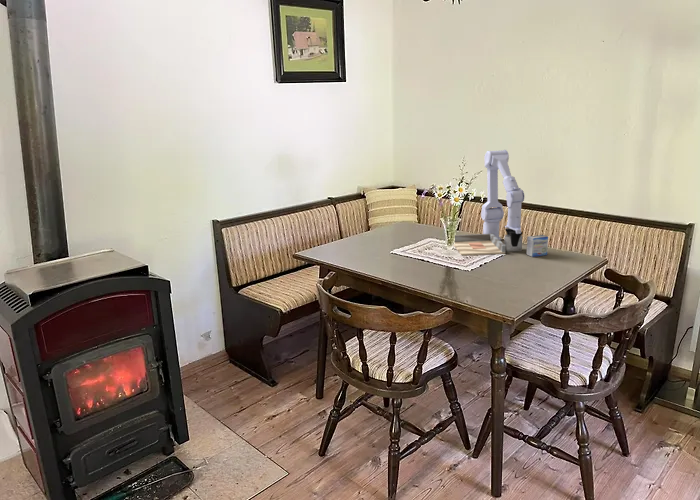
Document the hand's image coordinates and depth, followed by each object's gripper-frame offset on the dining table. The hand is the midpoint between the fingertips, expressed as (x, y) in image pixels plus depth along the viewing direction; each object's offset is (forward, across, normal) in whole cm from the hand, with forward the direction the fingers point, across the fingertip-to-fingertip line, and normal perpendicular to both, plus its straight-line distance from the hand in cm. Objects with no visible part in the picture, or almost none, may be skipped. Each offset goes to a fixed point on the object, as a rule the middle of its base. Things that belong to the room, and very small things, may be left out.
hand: (513, 245), depth 250 cm
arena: (+2, -6, -15) cm, 16 cm away
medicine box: (+3, +9, +8) cm, 12 cm away
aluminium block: (+2, 0, 0) cm, 2 cm away
